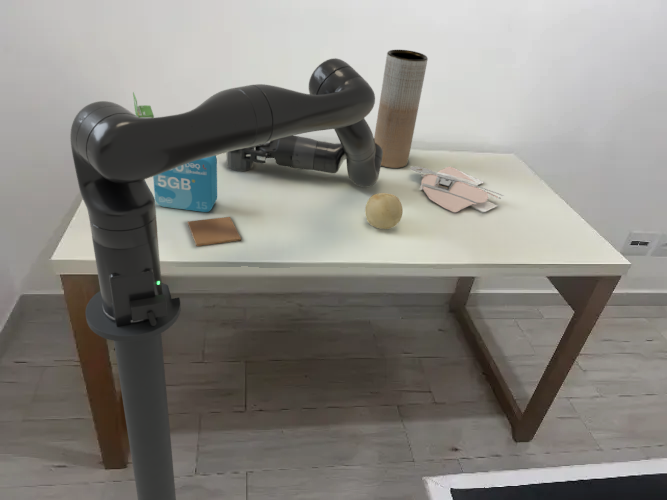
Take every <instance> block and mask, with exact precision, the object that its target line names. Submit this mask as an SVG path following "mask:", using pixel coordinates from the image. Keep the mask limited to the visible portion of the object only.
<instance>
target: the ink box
mask: <svg viewBox="0 0 667 500" xmlns="http://www.w3.org/2000/svg"><path fill="white" fill-rule="evenodd" d="M134 92H135V91H133V92H132V95H133V96H132V97H133V104H134V105H133V106H134V115H136V116H137V117H139V118H155V114H154V113H153V110H152V107H151V105H138V100H137V98H136V95H135V93H134Z"/></svg>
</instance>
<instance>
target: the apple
mask: <svg viewBox="0 0 667 500" xmlns="http://www.w3.org/2000/svg"><path fill="white" fill-rule="evenodd" d="M403 211H404V210H403V205H402V202H401V200H400V199H399V196H396V195H395V194H392V193H387V192H378V193H375V194H373V195H371V196H370V197H369V198H368V199H367V202H366V204H365V209H364V212H365V217H366V220H367V222H368V223H369V224H370V225H371V226H372V227H374V228H376V229H379V230H380V229H381V230H389V229H392V228H394V227H396V226H397V225H398V224H399V223H400V222H401V220H402V218H403Z"/></svg>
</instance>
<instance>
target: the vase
mask: <svg viewBox="0 0 667 500" xmlns="http://www.w3.org/2000/svg"><path fill="white" fill-rule="evenodd" d="M428 60H429V58H428V56H427V55H426V54H424V53H422V52H418V51H415V50H409V49H391V50H388V51H387V52H386V57H385V65H384V72H383V78H382V84H381V90H380V97H379V98H380V99H379V103H378V111H377V115H376V116H377V118H376V124H375V131H374V135H373V137H374V141H375V143H376V144H378V145H379V146H380V147H381V148H382V150H383V157H382V162H381V167H384V168H387V169H388V168H390V169H401V168H404V167H406V166H407V165H408V163H409V159H410V154H411V148H412V145H413V144H412V142H413V139H414V138H413V137H414V133H415V128H416V123H417V117H418V112H419V107H420V102H421V96H422V91H423V86H424V80H425V74H426V71H427V67H428V66H427V65H428Z"/></svg>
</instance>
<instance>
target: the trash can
mask: <svg viewBox="0 0 667 500" xmlns="http://www.w3.org/2000/svg"><path fill="white" fill-rule="evenodd" d="M248 149H250V148H248ZM225 154H226V155H225V157H226V158H225V159H226V162H225V163H226V167H227V168H228V169H229V170H231V171H235V172H247V171H250V170H251V169H253V167H254V162H252V161H247V160H242V159H241V154H236V153H230V152H226V153H225ZM247 157H250V156H247Z"/></svg>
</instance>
